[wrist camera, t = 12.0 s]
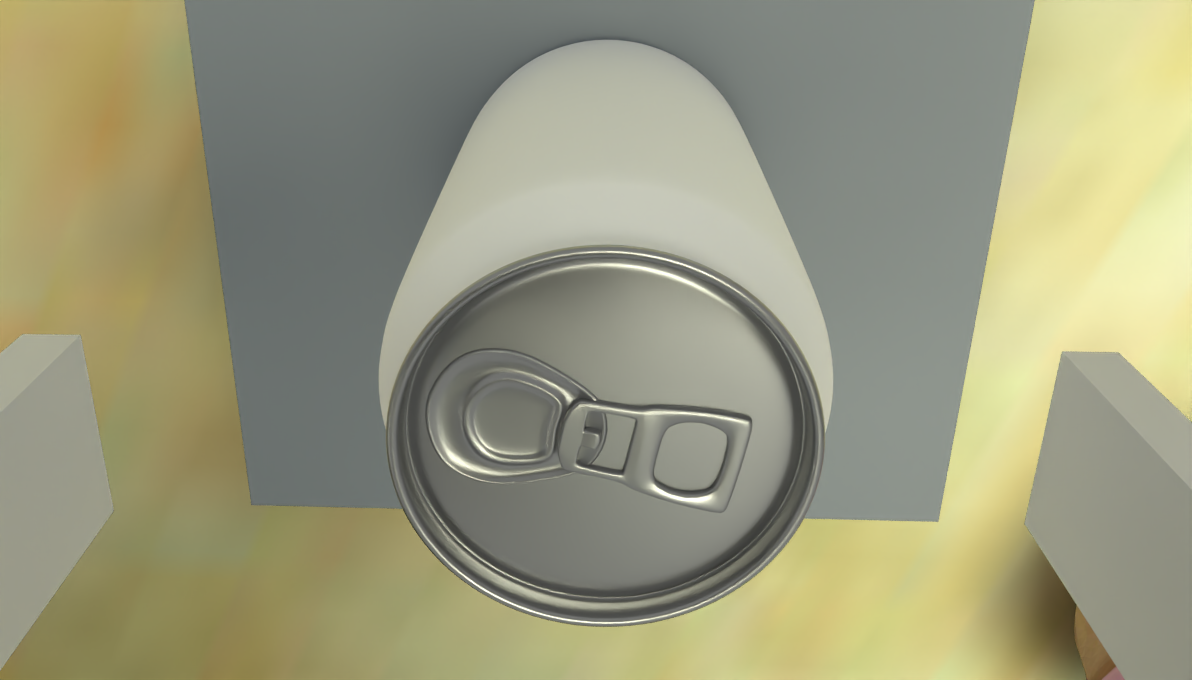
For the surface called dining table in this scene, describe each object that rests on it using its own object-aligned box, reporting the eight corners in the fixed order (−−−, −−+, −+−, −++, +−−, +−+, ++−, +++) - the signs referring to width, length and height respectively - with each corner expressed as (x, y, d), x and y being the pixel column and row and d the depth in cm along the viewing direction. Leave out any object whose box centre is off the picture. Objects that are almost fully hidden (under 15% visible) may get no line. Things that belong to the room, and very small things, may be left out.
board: (264, 480, 30) (251, 504, 29) (169, -278, 22) (146, -284, 21) (926, 496, 30) (937, 521, 29) (1059, -256, 22) (1082, -261, 21)
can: (491, 4, 23) (385, 159, 12) (784, 69, 24) (932, 274, 13) (444, 281, 26) (324, 609, 15) (708, 334, 26) (778, 688, 16)
